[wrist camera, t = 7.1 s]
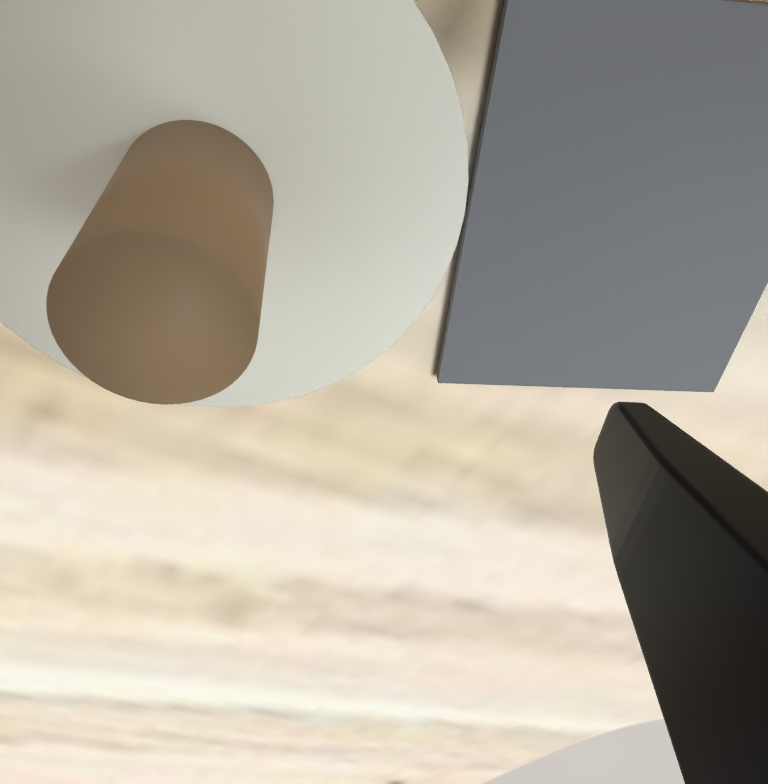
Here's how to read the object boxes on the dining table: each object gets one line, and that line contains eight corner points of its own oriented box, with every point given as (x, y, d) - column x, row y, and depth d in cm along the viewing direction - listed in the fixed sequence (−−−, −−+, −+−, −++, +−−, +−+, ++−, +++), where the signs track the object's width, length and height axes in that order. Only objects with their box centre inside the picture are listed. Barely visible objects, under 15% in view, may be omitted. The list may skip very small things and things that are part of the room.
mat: (887, 15, 18) (897, 19, 18) (708, 385, 25) (713, 392, 25) (508, -24, 17) (511, -21, 17) (436, 375, 24) (437, 382, 24)
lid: (514, -107, 13) (620, -74, 8) (426, 399, 20) (456, 561, 15) (-195, -192, 11) (-526, -208, 7) (-15, 385, 18) (-119, 559, 14)
